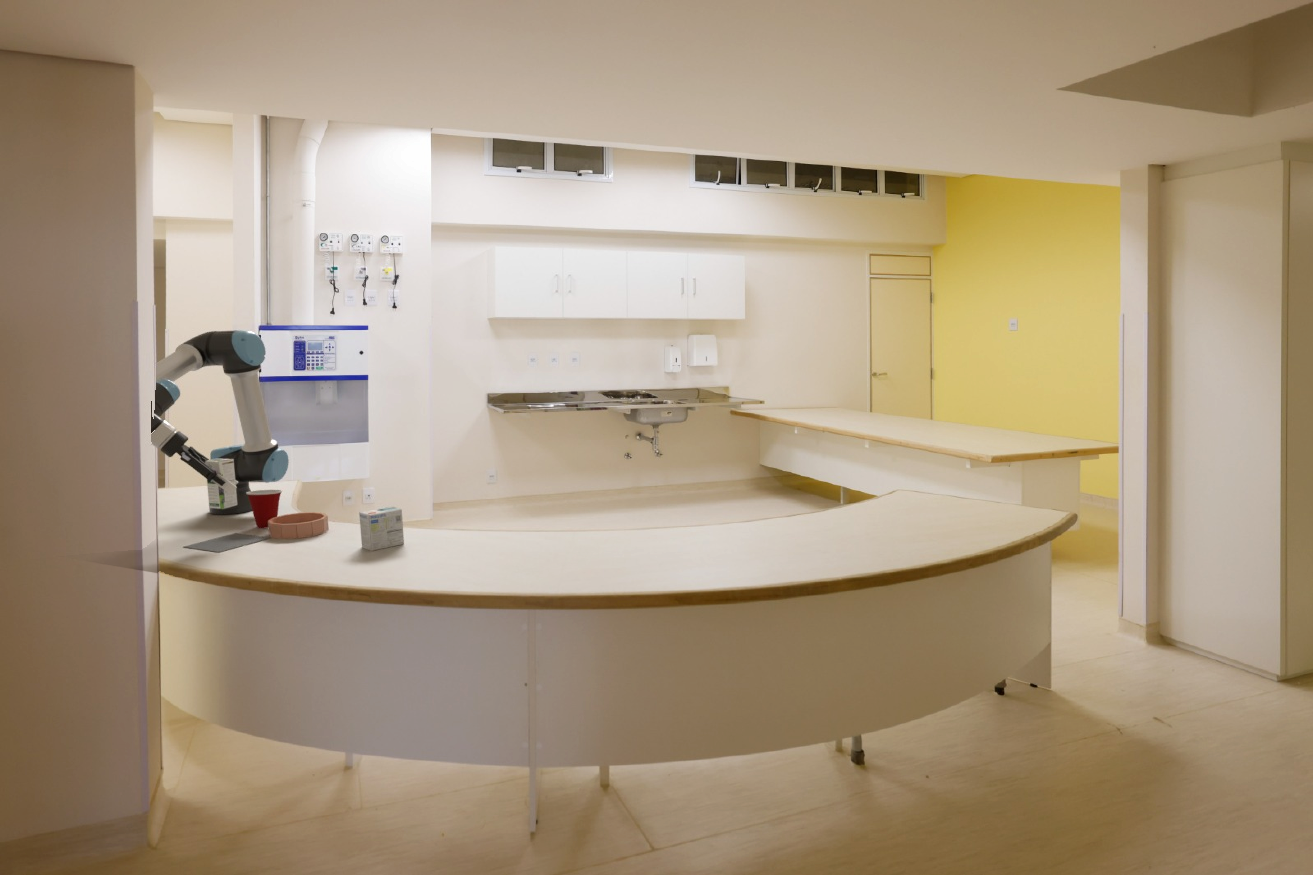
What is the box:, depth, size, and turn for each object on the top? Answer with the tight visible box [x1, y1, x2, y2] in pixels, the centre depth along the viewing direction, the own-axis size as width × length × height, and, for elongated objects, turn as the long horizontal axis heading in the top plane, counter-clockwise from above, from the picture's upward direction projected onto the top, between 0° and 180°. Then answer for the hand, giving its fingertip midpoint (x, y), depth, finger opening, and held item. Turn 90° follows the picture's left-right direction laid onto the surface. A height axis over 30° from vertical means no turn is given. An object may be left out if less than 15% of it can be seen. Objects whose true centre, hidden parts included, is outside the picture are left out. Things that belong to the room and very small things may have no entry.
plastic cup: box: [246, 489, 283, 529], centre depth 282 cm, size 11×11×12 cm
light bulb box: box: [358, 506, 405, 552], centre depth 254 cm, size 11×7×11 cm, turn 134°
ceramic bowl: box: [267, 511, 330, 540], centre depth 273 cm, size 17×17×4 cm
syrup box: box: [205, 459, 237, 509], centre depth 259 cm, size 6×6×14 cm
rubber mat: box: [183, 532, 272, 553], centre depth 262 cm, size 18×16×1 cm
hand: (234, 488), depth 261 cm, fingers closed on syrup box, 8 cm apart
